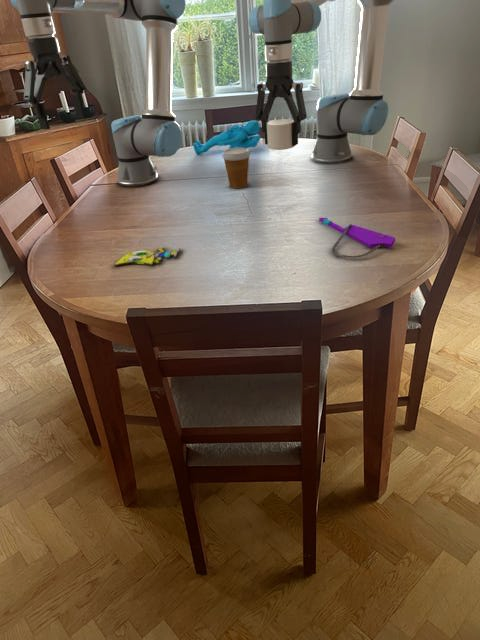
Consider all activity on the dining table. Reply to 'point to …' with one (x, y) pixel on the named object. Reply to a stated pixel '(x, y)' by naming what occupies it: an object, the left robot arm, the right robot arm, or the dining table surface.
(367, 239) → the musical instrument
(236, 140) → the toy
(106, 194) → the dining table surface
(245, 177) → the disposable coffee cup
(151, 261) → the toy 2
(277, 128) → the canister
